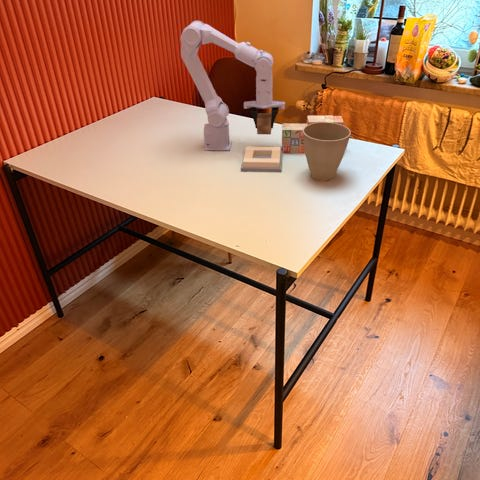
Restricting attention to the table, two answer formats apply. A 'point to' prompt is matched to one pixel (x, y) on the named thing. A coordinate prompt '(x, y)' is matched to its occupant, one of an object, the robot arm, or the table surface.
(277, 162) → the puzzle board
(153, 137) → the table surface
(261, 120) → the walnut block
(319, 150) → the plant pot
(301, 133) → the stack of blocks
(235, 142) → the table surface
